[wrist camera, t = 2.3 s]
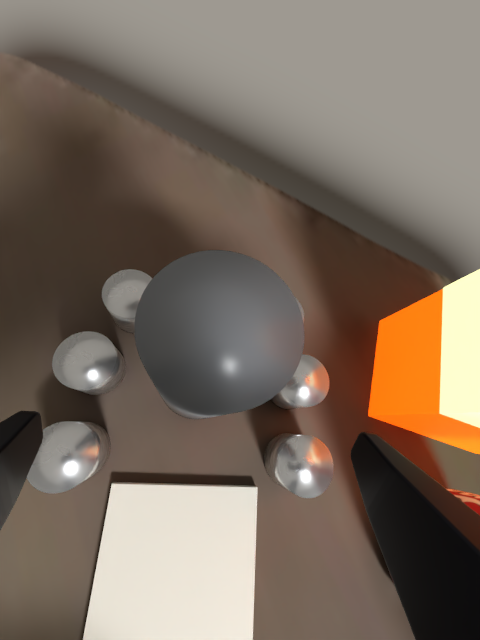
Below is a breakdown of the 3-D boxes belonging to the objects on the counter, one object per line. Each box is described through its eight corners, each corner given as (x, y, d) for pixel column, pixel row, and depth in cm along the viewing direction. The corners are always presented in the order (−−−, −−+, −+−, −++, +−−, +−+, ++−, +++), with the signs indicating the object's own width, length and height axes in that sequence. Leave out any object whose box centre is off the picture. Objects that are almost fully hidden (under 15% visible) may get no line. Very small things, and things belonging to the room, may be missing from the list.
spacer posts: (310, 487, 18) (334, 498, 15) (43, 479, 15) (14, 492, 13) (306, 313, 22) (325, 297, 19) (94, 284, 19) (80, 261, 16)
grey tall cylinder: (234, 421, 18) (306, 419, 8) (152, 416, 17) (117, 406, 7) (238, 344, 20) (303, 263, 10) (164, 336, 19) (150, 238, 9)
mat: (247, 724, 14) (249, 734, 13) (65, 745, 12) (60, 758, 12) (255, 485, 17) (257, 487, 17) (113, 482, 16) (111, 483, 15)
